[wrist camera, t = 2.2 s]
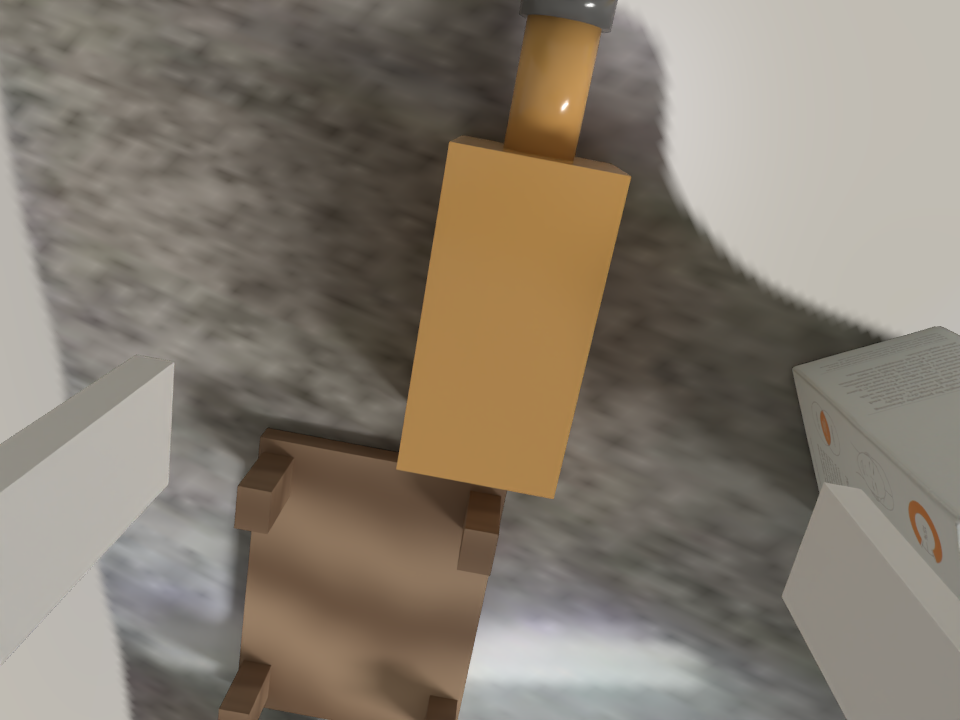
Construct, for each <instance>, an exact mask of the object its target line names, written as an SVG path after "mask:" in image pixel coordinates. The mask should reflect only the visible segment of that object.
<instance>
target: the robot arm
mask: <svg viewBox="0 0 960 720" xmlns="http://www.w3.org/2000/svg"><path fill="white" fill-rule="evenodd" d="M173 382H174V362H173V361H168V360H162V359H157V358H152V357H146V356H141V355H135V356H133V357H132V358H130V359H129V360H127V361H126V362H124V363H123V364H121V365H120V366H118V367H117V368H115V369H114V370H112V371H111V372H109V373H108V374H106V375H105V376H103V377H101V378H100V379H98V380H97V381H95V382H94V383H92V384H91V385H89V386H88V387H86V388H85V389H83V390H82V391H80V392H79V393H77V394H76V395H74V396H73V397H71V398H70V399H68V400H67V401H65V402H63V403H62V404H60V405H59V406H57V407H56V408H54V409H53V410H51V411H50V412H48V413H47V414H45V415H44V416H42V417H41V418H39V419H38V420H36V421H35V422H33V423H32V424H30V425H29V426H27V427H26V428H24V429H22V430H21V431H19V432H18V433H16V434H15V435H13V436H12V437H10V438H9V439H7V440H6V441H4V442H3V443H1V444H0V666H1V665H2V664H3V663H4V662H5V661H6V660H7V659H8V658H9V656H10V655H11V654H12V653H13V652H14V651H15V650H16V649H17V648H18V647H19V646H20V644H21V643H22V642H23V641H24V640H25V639H26V638H27V637H28V636H29V635H30V634H31V632H33V630H34V629H35V628H36V627H37V626H38V625H39V624H40V623H41V622H42V621H43V620H44V619H45V617H46V616H47V615H48V614H49V613H50V612H51V611H52V610H53V609H54V608H55V607H56V605H57V604H58V603H59V602H60V601H61V600H62V599H63V598H64V597H65V596H66V595H67V593H68V592H69V591H70V590H71V589H72V588H73V587H74V586H75V585H76V584H77V583H78V582H79V581H80V579H81V578H82V577H83V576H84V575H85V574H86V573H87V572H88V571H89V570H90V569H91V567H92V566H93V565H94V564H95V563H96V562H97V561H98V560H99V559H100V558H101V557H102V556H103V554H104V553H105V552H106V551H107V550H108V549H109V548H110V547H111V546H112V545H113V544H114V543H115V541H116V540H117V539H118V538H119V537H120V536H121V535H122V534H123V533H124V532H125V531H126V529H127V528H128V527H129V526H130V525H131V524H132V523H133V522H134V521H135V520H136V519H137V518H138V516H139V515H140V514H141V513H142V512H143V511H144V510H145V509H146V508H147V507H148V506H149V505H150V503H151V502H152V501H153V500H154V499H155V498H156V497H157V496H158V495H159V494H160V493H161V491H162V490H163V489H164V488H165V487H166V486H167V485H168V484H169V464H170V444H171V423H172V403H173ZM782 598H783V600H784V602H785V604H786V606H787V608H788V610H789V611H790V613H791V615H792V617H793V619H794V621H795V623H796V625H797V627H798V628H799V630H800V632H801V634H802V636H803V638H804V640H805V642H806V644H807V646H808V647H809V649H810V651H811V653H812V655H813V657H814V659H815V661H816V663H817V664H818V666H819V668H820V670H821V672H822V674H823V676H824V678H825V680H826V681H827V683H828V685H829V687H830V689H831V691H832V693H833V695H834V697H835V698H836V700H837V702H838V704H839V706H840V708H841V710H842V712H843V714H844V715H845V717H846V719H847V720H960V600H959V599H958V598H957V597H956V596H955V595H954V594H953V592H952V591H951V590H950V589H949V588H948V587H947V586H946V584H945V583H944V582H943V581H942V580H941V579H940V578H939V577H938V575H937V574H936V573H935V572H934V571H933V570H932V569H931V567H930V566H929V565H928V564H927V563H926V562H925V561H924V560H923V558H922V557H921V556H920V555H919V554H918V553H917V552H916V550H915V549H914V548H913V547H912V546H911V545H910V544H909V543H908V541H907V540H906V539H905V538H904V537H903V536H902V535H901V533H900V532H899V531H898V530H897V529H896V528H895V527H894V526H893V524H892V523H891V522H890V521H889V520H888V519H887V518H886V516H885V515H884V514H883V513H882V512H881V511H880V510H879V509H878V507H877V506H876V505H875V504H874V503H873V502H872V501H871V499H870V498H869V497H868V496H867V495H866V494H865V493H864V492H863V490H862V489H858V488H852V487H847V486H842V485H836V484H831V483H825V482H824V483H823V486H822V489H821V491H820V494H819V497H818V499H817V502H816V505H815V508H814V510H813V513H812V516H811V518H810V521H809V524H808V526H807V529H806V532H805V535H804V537H803V540H802V543H801V545H800V548H799V551H798V553H797V556H796V559H795V562H794V564H793V567H792V570H791V572H790V575H789V578H788V581H787V583H786V586H785V589H784V591H783V594H782Z"/></svg>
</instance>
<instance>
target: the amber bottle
mask: <svg viewBox="0 0 960 720" xmlns="http://www.w3.org/2000/svg"><path fill="white" fill-rule="evenodd" d="M617 1H618V0H521V5H520V11H519V15H520V16H522V17H524V18H527V21H526V27H525V32H524V37H523V43H522V48H521V54H520V59H519V64H518V70H517V75H516V81H515V86H514V91H513V97H512V102H511V108H510V113H509V118H508V124H507V129H506V135H505V140H504V143H501V142H496V141H491V140H485V139H480V138H475V137H470V136H465V135H462V136H460V137H458V138H456V139H454V140H452V141H449V147H448V153H447V159H446V165H445V172H444V178H443V184H442V190H441V196H440V202H439V209H438V215H437V221H436V227H435V233H434V239H433V246H432V252H431V258H430V264H429V270H428V276H427V283H426V289H425V295H424V301H423V307H422V313H421V320H420V326H419V332H418V338H417V344H416V350H415V357H414V363H413V369H412V375H411V381H410V387H409V393H408V400H407V406H406V412H405V418H404V424H403V430H402V437H401V443H400V449H399V455H398V461H397V467H396V469H397V470H402V471H407V472H413V473H418V474H423V475H429V476H434V477H439V478H444V479H450V480H455V481H460V482H466V483H471V484H476V485H482V486H487V487H492V488H497V489H503V490H508V491H513V492H519V493H524V494H529V495H535V496H540V497H545V498H550V499H554V495H555V491H556V487H557V483H558V479H559V474H560V470H561V466H562V462H563V458H564V454H565V450H566V445H567V441H568V437H569V433H570V429H571V425H572V421H573V416H574V412H575V408H576V404H577V400H578V396H579V391H580V387H581V383H582V379H583V375H584V371H585V367H586V362H587V358H588V354H589V350H590V346H591V342H592V338H593V333H594V329H595V325H596V321H597V317H598V313H599V309H600V304H601V300H602V296H603V292H604V288H605V284H606V279H607V275H608V271H609V267H610V263H611V259H612V255H613V250H614V246H615V242H616V238H617V234H618V230H619V226H620V221H621V217H622V213H623V209H624V205H625V201H626V196H627V192H628V188H629V184H630V180H631V176H630V175H628V174H627V173H625V172H624V171H622V170H620V169H619V168H617V167H616V166H614V165H613V164H610V163H605V162H600V161H595V160H590V159H584V158H579V157H575V153H576V149H577V144H578V139H579V135H580V130H581V125H582V121H583V116H584V112H585V107H586V102H587V98H588V93H589V88H590V84H591V79H592V74H593V70H594V65H595V60H596V56H597V51H598V47H599V42H600V37H601V33H608V32H611V28H612V24H613V19H614V14H615V10H616V5H617Z"/></svg>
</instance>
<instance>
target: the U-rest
mask: <svg viewBox="0 0 960 720" xmlns="http://www.w3.org/2000/svg"><path fill="white" fill-rule="evenodd" d="M398 455H399V453H398V452H393V451H388V450H382V449H377V448H372V447H367V446H361V445H356V444H351V443H345V442H340V441H335V440H329V439H324V438H319V437H313V436H308V435H303V434H297V433H292V432H287V431H281V430H276V429H271V428H267V429H266V430H265V432H264V433H263V434H262V435H261V437H260V445H259V456H258V460H257V461H256V462H255V464H254V465H253V466H252V468H251V469H250V470H249V472H248V473H247V474H246V476H245V477H244V478H243V480H242V481H241V482H240V484H239V485H238V489H237V501H236V512H235V524H234V528H236V529H241V530H247V531H251V542H250V553H249V563H248V574H247V585H246V596H245V606H244V617H243V628H242V639H241V649H240V660H239V670H238V672H237V674H236V676H235V678H234V680H233V682H232V684H231V686H230V688H229V690H228V692H227V694H226V696H225V698H224V700H223V702H222V704H221V706H220V708H219V714H218V720H258V719H259V716H260V714H261V712H262V710H263V708H269V709H274V710H279V711H285V712H290V713H295V714H301V715H306V716H312V717H317V718H322V719H328V720H458V715H459V711H460V706H461V701H462V697H463V692H464V688H465V683H466V678H467V674H468V669H469V664H470V660H471V655H472V650H473V646H474V641H475V636H476V632H477V627H478V623H479V618H480V613H481V609H482V604H483V599H484V595H485V590H486V585H487V581H488V576H490V573H491V569H492V564H493V560H494V555H495V550H496V546H497V541H498V536H499V525H500V520H501V516H502V511H503V507H504V502H505V497H506V493H507V490H503V489H497V488H492V487H487V486H482V485H476V484H471V483H466V482H460V481H455V480H450V479H444V478H439V477H434V476H429V475H423V474H418V473H413V472H407V471H402V470H397V469H396V467H397V461H398Z"/></svg>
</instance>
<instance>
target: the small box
mask: <svg viewBox="0 0 960 720" xmlns="http://www.w3.org/2000/svg"><path fill="white" fill-rule="evenodd" d="M792 371H793V376H794V380H795V385H796V390H797V394H798V399H799V403H800V408H801V413H802V417H803V422H804V427H805V431H806V436H807V440H808V444H809V449H810V453H811V457H812V462H813V466H814V471H815V475H816V480H817V484H818V489H819V493H820V491H821V489H822V486H823V483H824V482H825V483H831V484H836V485H842V486H847V487H852V488H858V489H862V490H863V492H864V493H865V494H866V495H867V496H868V497H869V498H870V499H871V501H872V502H873V503H874V504H875V505H876V506H877V507H878V509H879V510H880V511H881V512H882V513H883V514H884V515H885V516H886V518H887V519H888V520H889V521H890V522H891V523H892V524H893V526H894V527H895V528H896V529H897V530H898V531H899V532H900V533H901V535H902V536H903V537H904V538H905V539H906V540H907V541H908V543H909V544H910V545H911V546H912V547H913V548H914V549H915V550H916V552H917V553H918V554H919V555H920V556H921V557H922V558H923V560H924V561H925V562H926V563H927V564H928V565H929V566H930V567H931V569H932V570H933V571H934V572H935V573H936V574H937V575H938V577H939V578H940V579H941V580H942V581H943V582H944V583H945V584H946V586H947V587H948V588H949V589H950V590H951V591H952V592H953V594H954V595H955V596H956V597H957V598H958V599H959V600H960V336H959V335H958V334H956V333H954V332H952V331H950V330H948V329H946V328H944V327H941V326H939V327H932V328H929V329H926V330H922V331H918V332H915V333H911V334H908V335H904V336H901V337H897V338H893V339H890V340H886V341H883V342H880V343H876V344H873V345H869V346H866V347H862V348H858V349H854V350H851V351H847V352H843V353H840V354H837V355H833V356H829V357H826V358H822V359H819V360H816V361H812V362H809V363H805V364H802V365H798V366H795V367H793V369H792Z"/></svg>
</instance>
